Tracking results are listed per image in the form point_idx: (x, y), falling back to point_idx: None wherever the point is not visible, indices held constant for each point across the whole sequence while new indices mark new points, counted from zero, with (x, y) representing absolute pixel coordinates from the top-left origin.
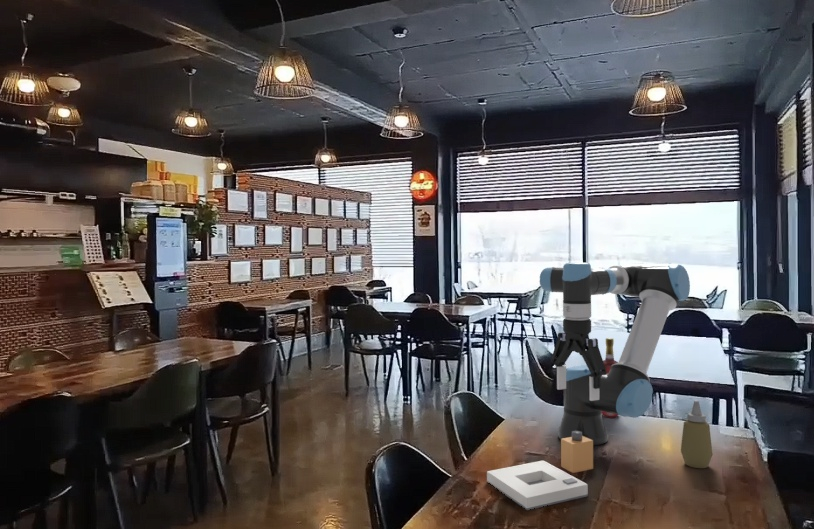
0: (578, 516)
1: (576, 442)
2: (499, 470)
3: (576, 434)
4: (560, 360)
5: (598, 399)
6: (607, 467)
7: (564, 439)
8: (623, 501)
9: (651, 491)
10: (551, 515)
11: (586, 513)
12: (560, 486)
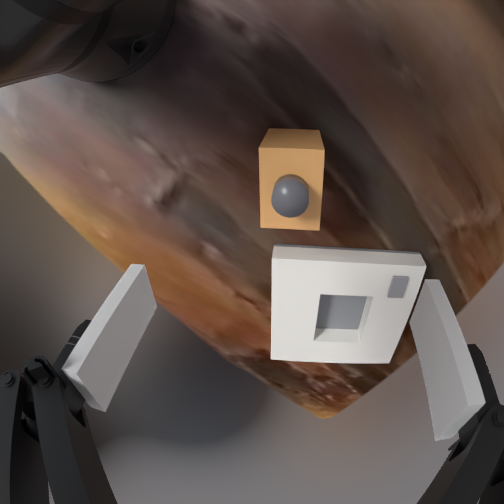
0: None
1: (313, 211)
2: (277, 345)
3: (302, 212)
4: (98, 456)
5: (437, 285)
6: (330, 90)
7: (271, 223)
8: (471, 213)
9: (479, 127)
10: None
11: (450, 293)
12: (398, 309)
